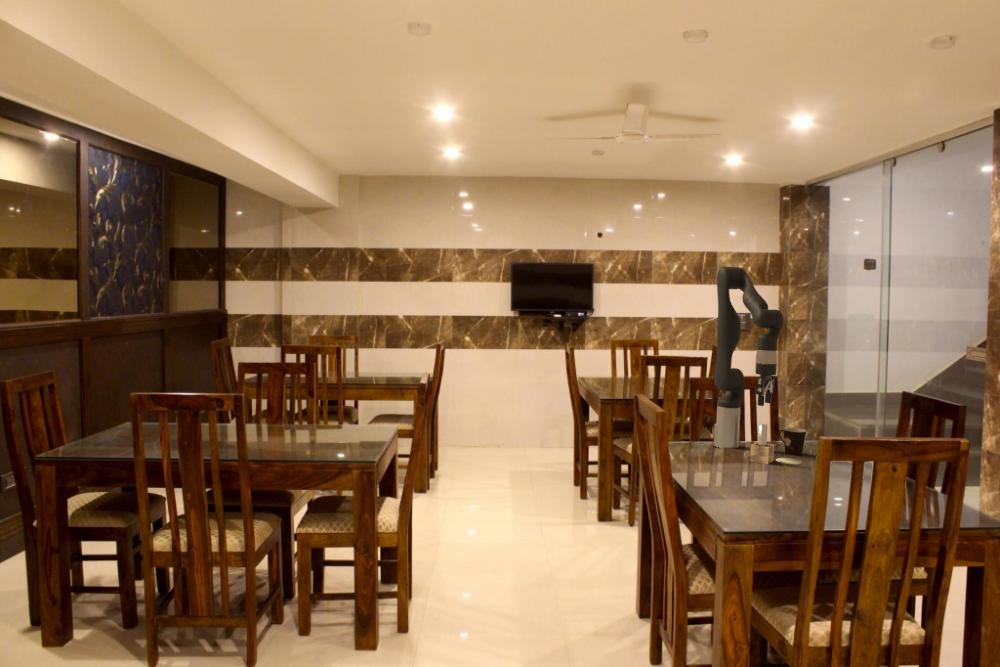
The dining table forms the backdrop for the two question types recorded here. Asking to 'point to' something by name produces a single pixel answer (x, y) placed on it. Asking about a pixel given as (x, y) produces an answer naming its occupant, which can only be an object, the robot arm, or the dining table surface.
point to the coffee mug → (793, 440)
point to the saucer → (788, 461)
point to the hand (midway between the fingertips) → (764, 404)
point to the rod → (762, 435)
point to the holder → (761, 453)
